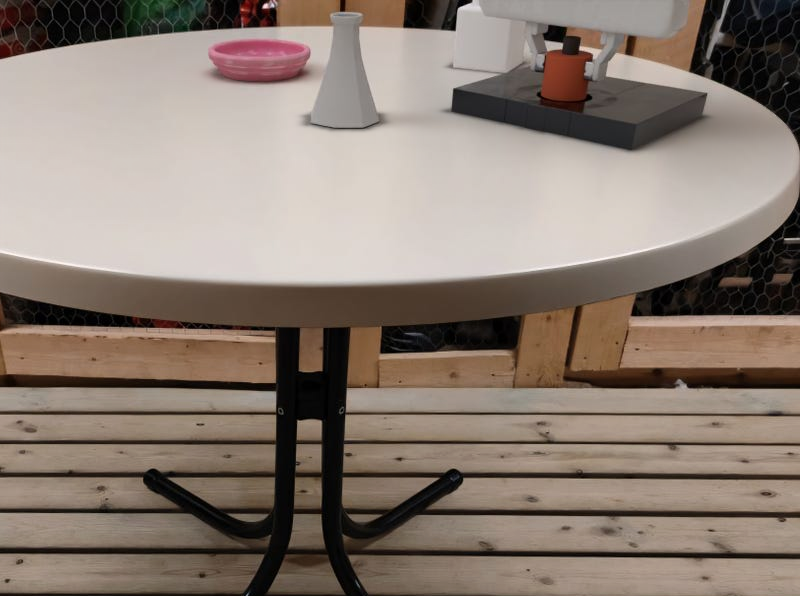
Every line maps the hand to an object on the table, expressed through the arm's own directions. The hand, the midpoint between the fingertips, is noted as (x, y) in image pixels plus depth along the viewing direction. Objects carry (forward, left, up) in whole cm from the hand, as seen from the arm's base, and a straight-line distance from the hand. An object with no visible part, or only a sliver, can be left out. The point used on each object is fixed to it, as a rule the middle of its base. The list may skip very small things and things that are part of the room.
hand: (566, 76), depth 82 cm
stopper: (0, 0, -2) cm, 2 cm away
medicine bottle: (+20, -17, -5) cm, 27 cm away
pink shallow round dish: (+38, +6, -5) cm, 39 cm away
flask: (+16, +15, -5) cm, 22 cm away
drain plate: (0, -3, -4) cm, 5 cm away
